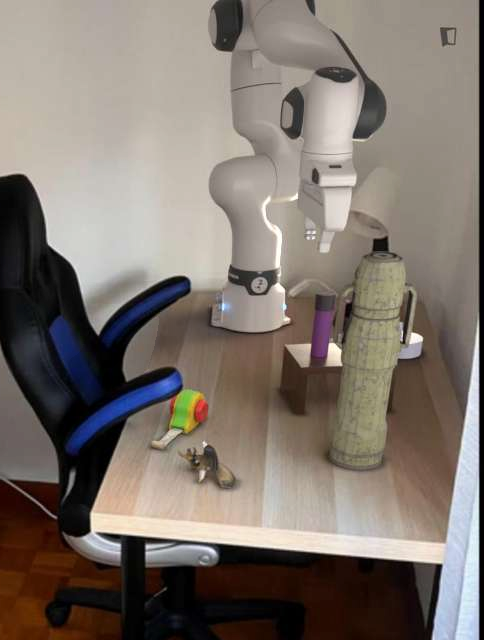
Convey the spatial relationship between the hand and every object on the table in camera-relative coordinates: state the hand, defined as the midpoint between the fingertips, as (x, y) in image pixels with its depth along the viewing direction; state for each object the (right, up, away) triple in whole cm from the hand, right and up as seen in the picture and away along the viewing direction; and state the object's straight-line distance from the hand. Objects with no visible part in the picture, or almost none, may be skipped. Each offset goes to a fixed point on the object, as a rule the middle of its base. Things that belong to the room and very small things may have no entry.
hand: (316, 245), depth 180 cm
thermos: (+3, -40, -13) cm, 42 cm away
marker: (+2, -19, +6) cm, 20 cm away
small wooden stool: (+7, -28, +11) cm, 30 cm away
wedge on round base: (+26, -14, +35) cm, 46 cm away
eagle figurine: (-23, -44, -18) cm, 53 cm away
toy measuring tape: (-25, -35, 0) cm, 43 cm away
